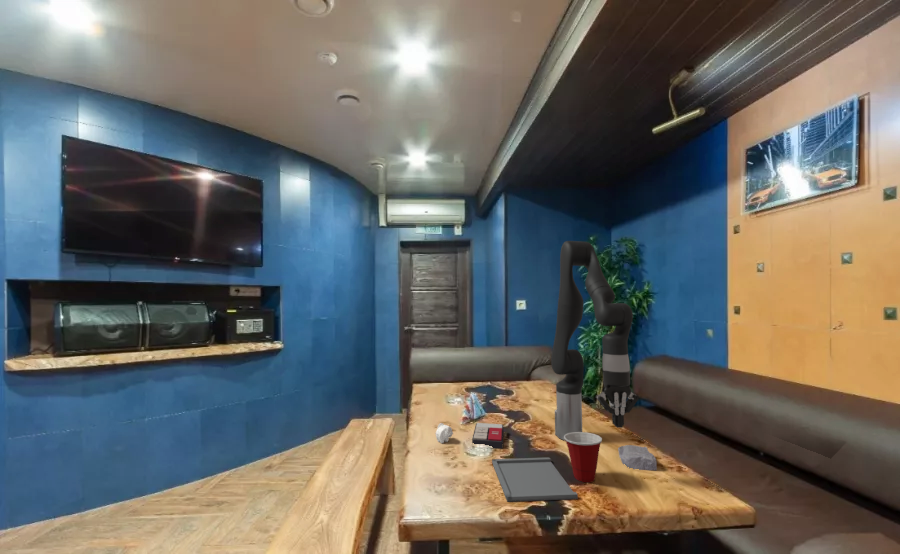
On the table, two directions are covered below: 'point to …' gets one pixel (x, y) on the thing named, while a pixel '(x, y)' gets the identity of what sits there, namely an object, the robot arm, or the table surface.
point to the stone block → (637, 457)
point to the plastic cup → (583, 454)
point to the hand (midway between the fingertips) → (618, 426)
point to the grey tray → (531, 480)
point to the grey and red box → (489, 435)
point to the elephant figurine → (443, 433)
